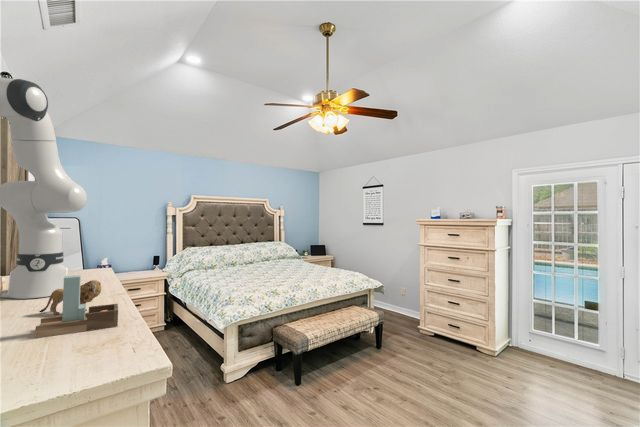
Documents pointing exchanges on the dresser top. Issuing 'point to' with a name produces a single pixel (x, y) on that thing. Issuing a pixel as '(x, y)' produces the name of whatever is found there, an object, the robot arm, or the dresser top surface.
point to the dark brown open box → (102, 317)
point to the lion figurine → (86, 295)
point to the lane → (59, 326)
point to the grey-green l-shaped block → (72, 300)
